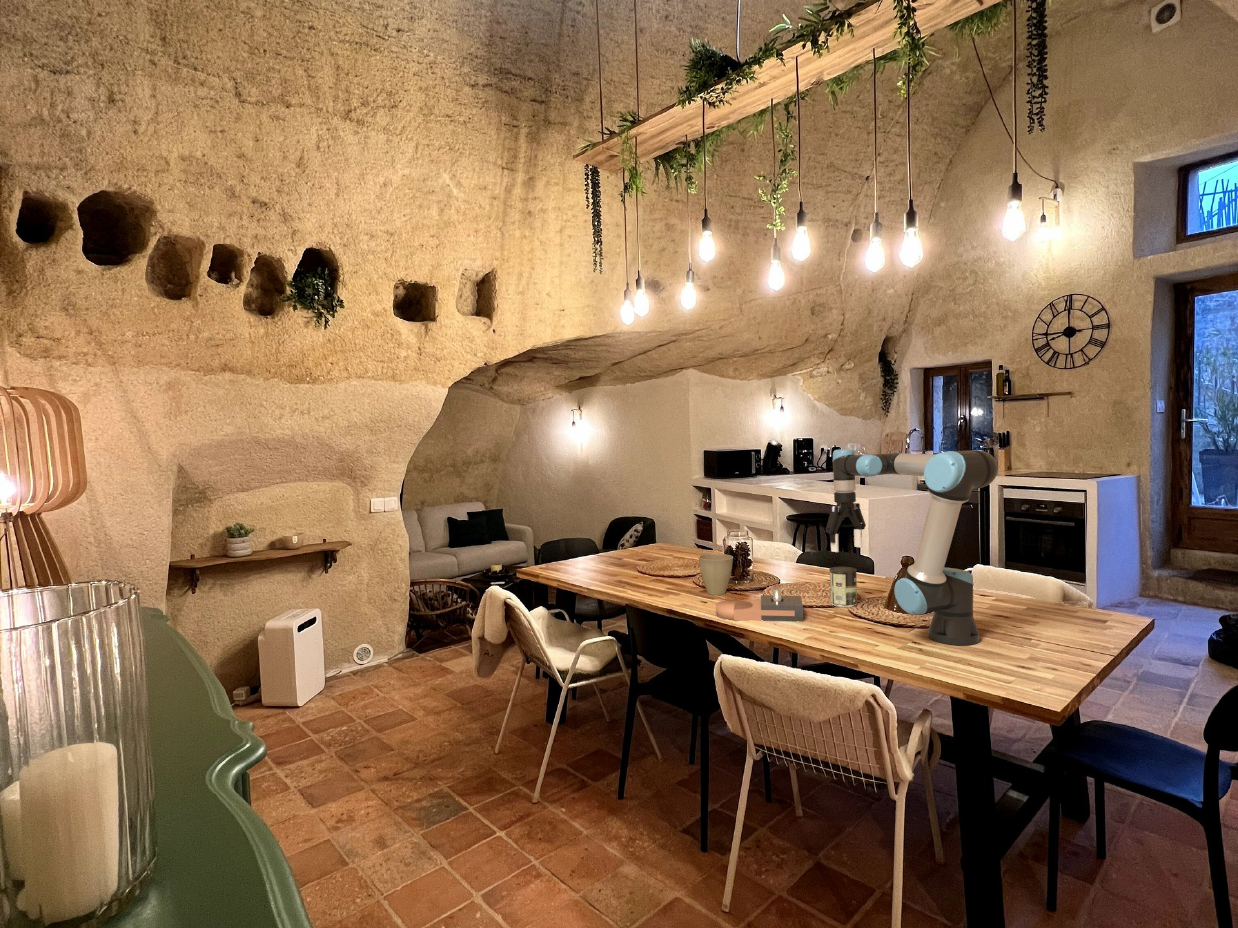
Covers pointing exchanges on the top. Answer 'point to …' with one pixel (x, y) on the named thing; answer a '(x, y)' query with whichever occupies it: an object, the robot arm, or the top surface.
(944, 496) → the robot arm
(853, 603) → the coffee can
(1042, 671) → the top surface
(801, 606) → the clevis fork
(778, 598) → the steel pin
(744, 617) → the knuckle link
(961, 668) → the top surface
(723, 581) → the plant pot
